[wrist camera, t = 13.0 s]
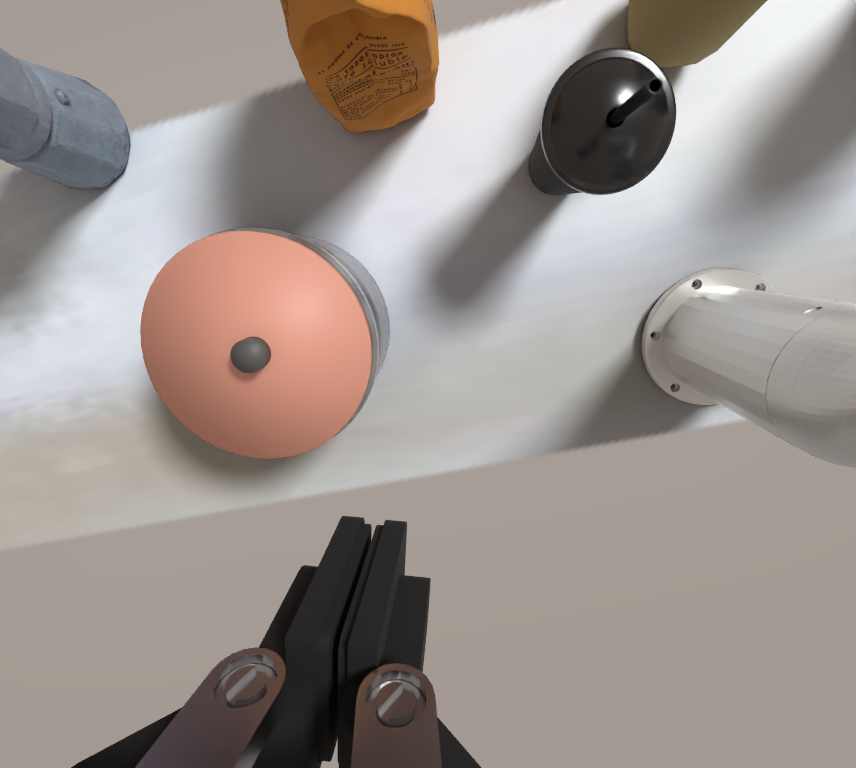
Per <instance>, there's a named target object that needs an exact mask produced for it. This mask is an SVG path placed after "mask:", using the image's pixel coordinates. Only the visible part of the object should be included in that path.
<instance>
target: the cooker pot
mask: <svg viewBox="0 0 856 768" xmlns="http://www.w3.org/2000/svg"><path fill="white" fill-rule="evenodd" d="M231 231H254V232H262V233H270V234H275V235H278V236H282V237H286V238H289V239H291V240H294V241H296V242H298V243H301V244H303V245H305V246H306V247H308V248H310V249H312V250H313V251H315V252H317V253H318V254H319V255H321V256H322V257H323V258H325V259H326V260H327V261H329V262H330V263H331V264H332V265H333V266H334V267H335V268H336V269H337V270H338V271H339V272H340V273H341V274H342V276H343V277H344V278H345V279H346V281H347V282H348V283H349V284H350V286H351V287H352V289H353V291H354V292H355V294H356V295H357V297H358V299H359V301H360V303H361V305H362V307H363V310H364V312H365V314H366V318H367V321H368V324H369V327H370V333H371V339H372V351H373V359H372V370H371V375H370V379H369V383H368V386H367V389H366V392H365V394H364V397H363V399H362V400H361V402H360V404H359V406H358V408H357V409H356V411H355V413H354V414H353V416H352V417H351V418H350V420H349V421H348V422H347V424H346V425H345V426H344V427H343V428H342V429H341V430H340V431H339V432H341V431H342V430H343V429H344V428H345V427H346V426H347V425H348V424H349V423H350V422H351V421H352V420H353V419H354V418H355V417H356V415H357V414H358V413H359V411H360V410H361V408H362V407H363V405H364V403H365V401H366V400H367V398H368V396H369V394H370V392H371V389H372V387H373V384H374V381H375V377H376V376H377V374H378V372H379V370H380V369H381V367H382V365H383V362H384V359H385V357H386V353H387V349H388V345H389V335H390V329H389V317H388V311H387V307H386V304H385V301H384V298H383V296H382V293H381V291H380V289H379V287H378V285H377V284H376V282H375V280H374V279H373V277H372V276H371V275H370V273H369V272H368V271H367V270H366V268H365V267H364V266H363V265H362V264H361V263H360V262H359V261H358V260H357V259H355V258H354V257H353V256H351V255H350V254H349V253H348V252H346V251H344V250H343V249H341V248H339V247H337V246H336V245H333V244H331V243H329V242H326V241H323V240H320V239H316V238H312V237H304V236H297V235H295V234H291V233H288V232H284V231H280V230H274V229H266V228H258V227H256V228H237V229H230V230H225V231H222V232H219V233H225V232H231ZM216 234H218V233H216ZM213 235H215V234H213ZM210 236H212V235H210ZM339 432H338V433H339ZM338 433H337V434H338ZM337 434H336V435H337ZM336 435H335V436H336ZM333 437H334V436H333ZM333 437H332V438H333Z"/></svg>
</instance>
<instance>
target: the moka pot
mask: <svg viewBox="0 0 856 768" xmlns="http://www.w3.org/2000/svg"><path fill="white" fill-rule="evenodd" d="M129 151H130V136H129V132H128V129H127V125H126V123H125V121H124V118H123V116H122V114H121V113H120V111H119V109H118V107H117V105H116V104H115V102H114V101H113V100H112V99H110V98H109V97H108V96H107V95H106V94H104V93H103V92H101V91H100V90H99V89H97V88H96V87H94V86H93V85H91V84H90V83H88V82H87V81H85V80H82V79H80V78H77V77H74V76H71V75H68V74H65V73H61V72H59V71H56V70H53V69H50V68H47V67H44V66H41V65H38V64H35V63H32V62H29V61H27V60H24V59H21V58H17V57H14V56H12V55H10V54H8V53H7V52H5V51H4V50H2V49H1V48H0V159H2V160H4V161H6V162H8V163H10V164H13V165H15V166H17V167H20V168H23V169H25V170H28V171H31V172H33V173H35V174H38V175H41V176H43V177H46V178H48V179H51V180H53V181H55V182H58V183H60V184H63V185H65V186H68V187H71V188H80V189H98V188H99V189H101V188H104V187H106V186H107V185H109V184H110V183H111V182H113V181H114V179H116V178H117V177H118V176H119V175H120V174H122V172H123V170H124V168H125V165H126V164H127V161H128V155H129Z"/></svg>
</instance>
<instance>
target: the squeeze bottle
mask: <svg viewBox="0 0 856 768" xmlns="http://www.w3.org/2000/svg"><path fill="white" fill-rule="evenodd" d="M766 1H767V0H629V9H628V21H627V32H628V42H629V44H630V47H631V49H632V50H635V51H638V52H640V53H642V54H644V55H646V56H648V57H649V58H650V59H652V60H653V61H654V62H655V63H656V64H658V65H659V67H660V68H664V67H678V66H684V65H690V64H696V63H698V62H700V61H701V60H703V59H704V58H706V57H708V56H709V55H711V54H713V53H714V52H716V51H717V50H718V49H719V48H720V47H721V46H722V45H723V44H724V43H725V42H726V41H727V40H728V39H729V38H730V37H731V36H732V35H733V34H734V33H735V32H736V31H737V30H738V29H739V28H740V27H741V26H742V25H743V24H744V23H745V22H746V21H747V20H748V19H749V18H750V17H751V16H752V15H753V14H754V13H755V12H756V11H757V10H758V9H759V8H760V7H761V6H762V5H763V4H764V3H765V2H766Z"/></svg>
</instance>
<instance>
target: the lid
mask: <svg viewBox="0 0 856 768" xmlns="http://www.w3.org/2000/svg"><path fill="white" fill-rule="evenodd" d="M140 331H141V347H142V352H143V358H144V362H145V365H146V368H147V371H148V374H149V377H150V379H151V381H152V383H153V386H154V388H155V390H156V391H157V393H158V394H159V396H160V398H161V399H162V401H163V402H164V404H165V405H166V406H167V408H168V409H169V410H170V412H171V413H172V414H173V415H174V416H175V417H176V418H177V419H178V420H179V421H180V422H181V423H182V424H183V425H184V426H185V427H186V428H188V429H189V430H190V431H191V432H192V433H194V434H195V435H197V436H198V437H200V438H201V439H203V440H204V441H206V442H208V443H210V444H212V445H214V446H216V447H218V448H220V449H223V450H225V451H228V452H231V453H234V454H238V455H242V456H246V457H253V458H260V459H275V458H284V457H290V456H294V455H298V454H302V453H304V452H307V451H310V450H312V449H314V448H316V447H318V446H320V445H322V444H323V443H325V442H327V441H328V440H329V439H331V438H332V437H333V436H335V435H336V434H337V433H338V432H339V431H340V430H341V429H342V428H343V427H344V426H345V425H346V424H347V422H348V421H349V420H350V418H351V417H352V416H353V414H354V413H355V411H356V409H357V408H358V406H359V404H360V402H361V400H362V399H363V397H364V394H365V392H366V389H367V386H368V383H369V379H370V375H371V370H372V359H373V351H372V339H371V333H370V327H369V324H368V321H367V318H366V314H365V312H364V310H363V307H362V305H361V303H360V301H359V299H358V297H357V295H356V294H355V292H354V291H353V289H352V287H351V286H350V284H349V283H348V282H347V281H346V279H345V278H344V277H343V276H342V274H341V273H340V272H339V271H338V270H337V269H336V268H335V267H334V266H333V265H332V264H331V263H330V262H329V261H327V260H326V259H325V258H323V257H322V256H321V255H319V254H318V253H317V252H315V251H313V250H312V249H310V248H308V247H306V246H305V245H303V244H301V243H298V242H296V241H294V240H291V239H289V238H286V237H282V236H278V235H275V234H270V233H262V232H254V231H231V232H225V233H218V234H215V235H212V236H208V237H205V238H202V239H200V240H198V241H196V242H194V243H192V244H190V245H188V246H187V247H185V248H184V249H182V250H181V251H180V252H178V253H177V254H176V255H175V256H173V257H172V258H171V259H170V260H169V261H168V262H167V263H166V264H165V266H164V267H163V268H162V269H161V271H160V272H159V273H158V275H157V276H156V278H155V280H154V282H153V283H152V285H151V287H150V289H149V292H148V294H147V297H146V300H145V303H144V307H143V312H142V318H141V330H140Z"/></svg>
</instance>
